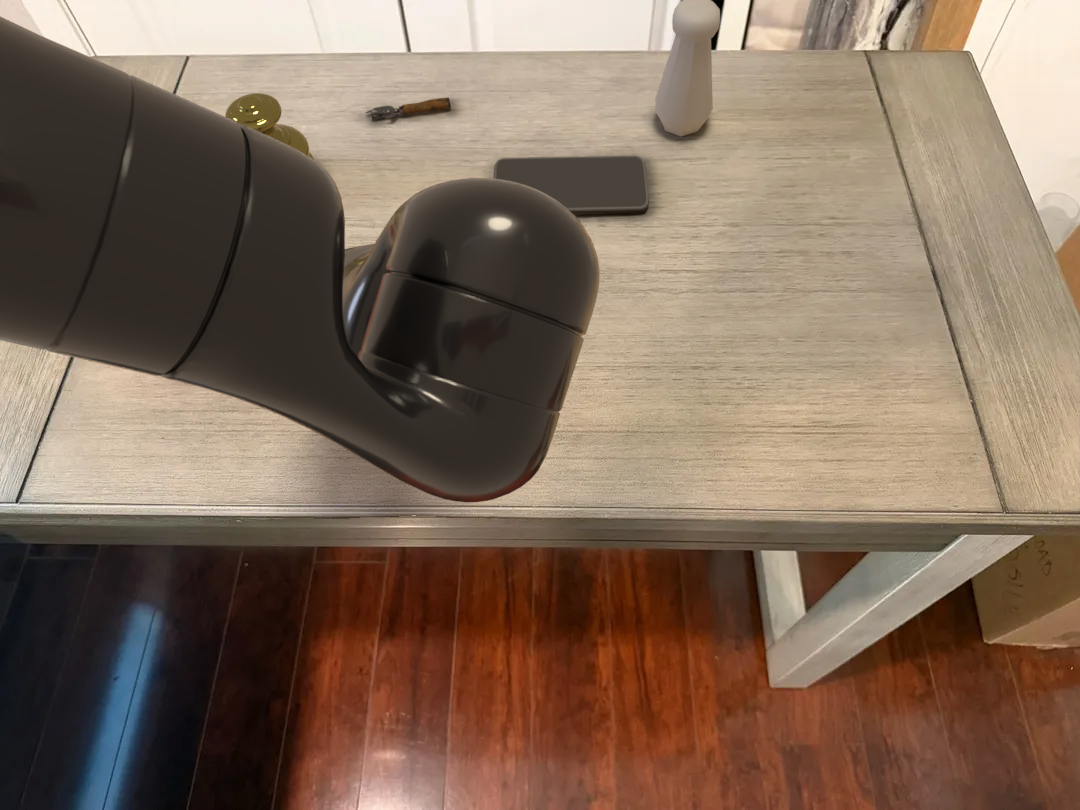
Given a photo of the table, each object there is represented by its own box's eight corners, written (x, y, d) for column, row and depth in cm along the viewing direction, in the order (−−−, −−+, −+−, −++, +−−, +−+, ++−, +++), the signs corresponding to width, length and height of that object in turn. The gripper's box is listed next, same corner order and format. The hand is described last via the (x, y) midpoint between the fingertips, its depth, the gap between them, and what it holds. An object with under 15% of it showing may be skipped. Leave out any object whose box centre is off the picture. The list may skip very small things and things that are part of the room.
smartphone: (650, 209, 77) (492, 212, 77) (649, 215, 78) (493, 218, 78) (644, 153, 81) (493, 156, 81) (643, 160, 82) (494, 163, 82)
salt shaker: (719, 133, 83) (742, 16, 72) (668, 148, 82) (684, 33, 71) (692, 97, 86) (711, -20, 75) (643, 112, 85) (655, -4, 74)
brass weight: (306, 215, 79) (274, 134, 71) (234, 207, 80) (194, 126, 71) (329, 161, 83) (301, 78, 74) (259, 154, 84) (224, 71, 75)
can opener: (451, 103, 86) (449, 94, 85) (451, 118, 85) (450, 109, 84) (366, 110, 86) (363, 101, 85) (365, 125, 85) (363, 116, 84)
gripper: (465, 192, 43) (397, 214, 59) (215, 314, 39) (213, 302, 55) (523, 319, 45) (442, 307, 61) (292, 445, 42) (269, 398, 58)
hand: (334, 305), depth 58 cm, fingers closed on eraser, 3 cm apart
